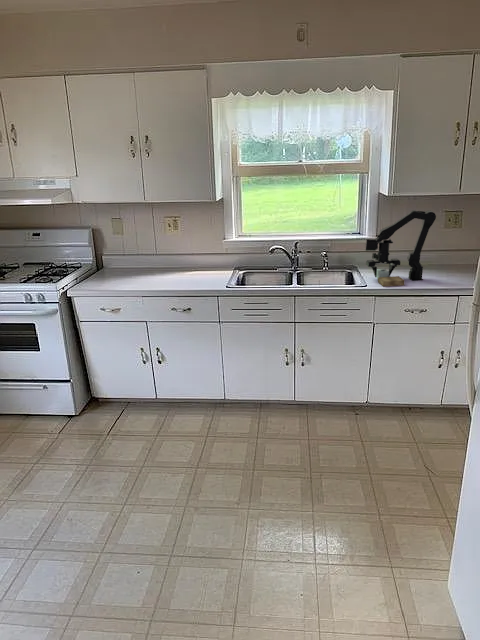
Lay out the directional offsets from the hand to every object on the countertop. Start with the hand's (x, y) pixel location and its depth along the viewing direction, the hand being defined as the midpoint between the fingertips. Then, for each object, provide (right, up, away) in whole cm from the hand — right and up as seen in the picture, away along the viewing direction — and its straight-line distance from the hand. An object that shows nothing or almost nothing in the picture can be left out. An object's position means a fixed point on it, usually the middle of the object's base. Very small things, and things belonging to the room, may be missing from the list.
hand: (382, 276), depth 281 cm
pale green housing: (0, -1, 0) cm, 1 cm away
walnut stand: (+2, -5, -11) cm, 12 cm away
